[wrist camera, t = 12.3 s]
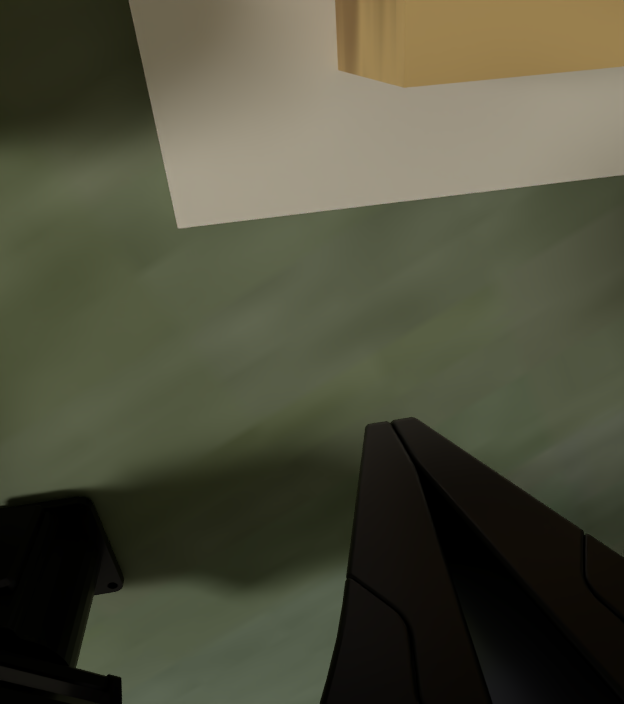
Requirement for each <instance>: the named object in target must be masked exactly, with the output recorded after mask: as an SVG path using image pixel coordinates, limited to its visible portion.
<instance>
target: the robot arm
mask: <svg viewBox="0 0 624 704" xmlns="http://www.w3.org/2000/svg"><path fill="white" fill-rule="evenodd" d="M79 507H82V508H79ZM346 578H347V580H346V581H345V588H344V596H343V604H342V610H341V616H340V622H339V627H338V633H337V639H336V643H335V647H334V651H333V655H332V659H331V663H330V667H329V671H328V675H327V679H326V683H325V686H324V690H323V693H322V697H321V700H320V704H624V557H622V556H621V555H619V554H618V553H616V552H615V551H613V550H612V549H610V548H609V547H607V546H606V545H604V544H603V543H601V542H600V541H598V540H597V539H595V538H594V537H592V536H591V535H589V534H586V535H584V532H583V530H581V529H580V528H578V527H577V526H576V525H574V524H573V523H571V522H570V521H568V520H567V519H565V518H564V517H562V516H561V515H559V514H558V513H556V512H555V511H553V510H552V509H550V508H549V507H547V506H546V505H544V504H543V503H541V502H540V501H538V500H537V499H535V498H534V497H532V496H531V495H529V494H528V493H526V492H525V491H523V490H522V489H521V488H519V487H518V486H516V485H515V484H513V483H512V482H510V481H509V480H507V479H506V478H504V477H503V476H501V475H500V474H498V473H497V472H495V471H494V470H492V469H491V468H489V467H488V466H486V465H485V464H483V463H482V462H480V461H479V460H477V459H476V458H474V457H473V456H471V455H470V454H468V453H467V452H466V451H464V450H463V449H461V448H460V447H458V446H457V445H455V444H454V443H452V442H451V441H449V440H448V439H446V438H445V437H443V436H442V435H440V434H439V433H437V432H436V431H434V430H433V429H431V428H430V427H428V426H427V425H425V424H424V423H422V422H421V421H419V420H418V419H416V418H414V417H409V418H403V419H397V420H393V421H392V422H391V423H389V422H387V421H385V422H379V423H372V424H368V425H367V426H366V427H365V434H364V442H363V450H362V458H361V465H360V473H359V481H358V489H357V497H356V504H355V512H354V520H353V528H352V536H351V544H350V551H349V559H348V567H347V575H346ZM123 582H124V577H123V574H122V572H121V569H120V567H119V565H118V562H117V560H116V557H115V555H114V553H113V550H112V548H111V545H110V543H109V541H108V538H107V536H106V533H105V531H104V529H103V526H102V524H101V521H100V519H99V517H98V514H97V512H96V509H95V507H94V505H93V502H92V501H91V500H90V499H88V498H86V497H74V498H68V499H61V500H55V501H48V502H42V503H35V504H29V505H23V506H16V507H10V508H3V509H0V704H122V686H121V677H118V676H114V675H110V674H108V675H107V676H104V675H100V674H96V673H93V672H89V671H85V670H81V669H78V668H76V666H77V661H78V657H79V653H80V649H81V645H82V641H83V637H84V633H85V629H86V624H87V620H88V616H89V612H90V608H91V604H92V600H93V596H94V595H99V594H105V593H110V592H116V591H119V590H120V589H122V587H123Z"/></svg>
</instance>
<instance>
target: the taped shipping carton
mask: <svg viewBox="0 0 624 704" xmlns="http://www.w3.org/2000/svg"><path fill="white" fill-rule="evenodd" d="M335 11H336V34H337V57H338V70H339V71H343V72H347V73H351V74H354V75H358V76H362V77H366V78H369V79H373V80H377V81H381V82H384V83H388V84H392V85H396V86H399V87H403V88H407V87H418V86H428V85H438V84H449V83H459V82H469V81H479V80H490V79H500V78H510V77H520V76H531V75H541V74H551V73H562V72H572V71H582V70H592V69H603V68H613V67H623V66H624V0H335Z"/></svg>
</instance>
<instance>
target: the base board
mask: <svg viewBox="0 0 624 704" xmlns="http://www.w3.org/2000/svg"><path fill="white" fill-rule="evenodd" d="M129 5H130V9H131V14H132V18H133V23H134V28H135V32H136V37H137V42H138V46H139V51H140V55H141V60H142V65H143V69H144V74H145V78H146V83H147V88H148V92H149V97H150V101H151V106H152V111H153V115H154V120H155V125H156V129H157V134H158V138H159V143H160V148H161V152H162V157H163V161H164V166H165V171H166V175H167V180H168V184H169V189H170V194H171V198H172V203H173V208H174V212H175V217H176V221H177V226H178V228H186V227H195V226H203V225H211V224H220V223H228V222H236V221H245V220H253V219H261V218H270V217H278V216H286V215H294V214H303V213H311V212H319V211H328V210H336V209H344V208H353V207H361V206H369V205H377V204H386V203H394V202H402V201H411V200H419V199H427V198H436V197H444V196H452V195H461V194H469V193H477V192H485V191H494V190H502V189H510V188H519V187H527V186H535V185H544V184H552V183H560V182H568V181H577V180H585V179H593V178H602V177H610V176H618V175H624V66H623V67H613V68H603V69H592V70H582V71H572V72H562V73H551V74H541V75H531V76H520V77H510V78H500V79H490V80H479V81H469V82H459V83H449V84H438V85H428V86H418V87H407V88H403V87H399V86H396V85H392V84H388V83H384V82H381V81H377V80H373V79H369V78H366V77H362V76H358V75H354V74H351V73H347V72H343V71H339V70H338V57H337V34H336V11H335V0H129Z"/></svg>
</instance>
